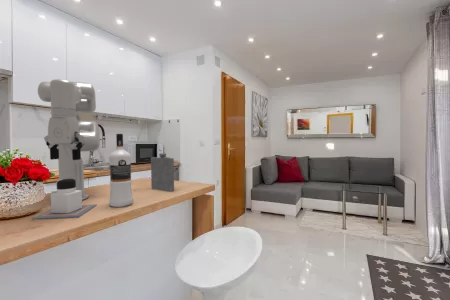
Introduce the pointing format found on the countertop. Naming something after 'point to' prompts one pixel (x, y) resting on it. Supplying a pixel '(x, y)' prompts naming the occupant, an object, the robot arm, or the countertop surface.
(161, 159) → the hip flask
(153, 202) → the countertop surface
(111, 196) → the vodka
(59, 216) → the card
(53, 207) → the medicine bottle
